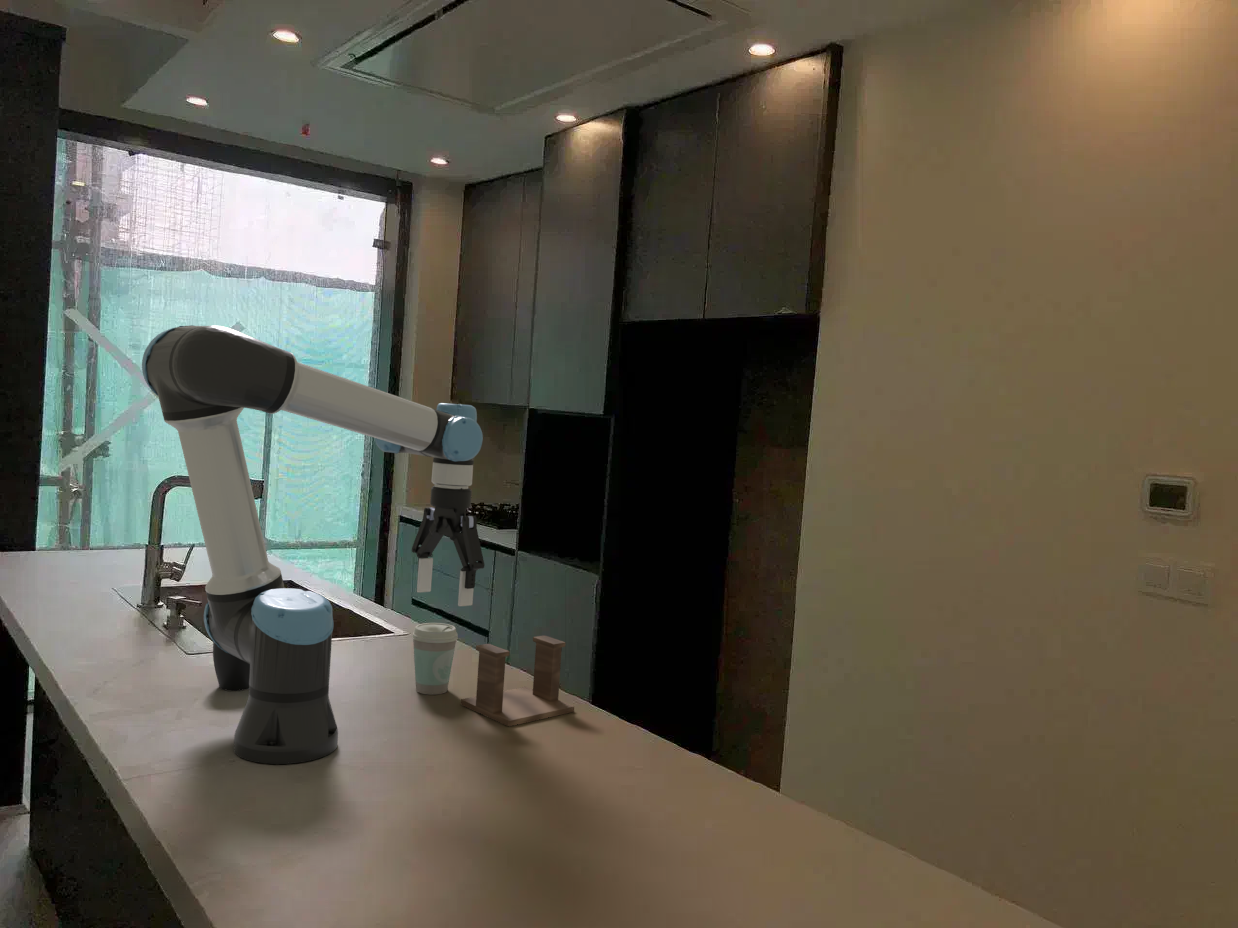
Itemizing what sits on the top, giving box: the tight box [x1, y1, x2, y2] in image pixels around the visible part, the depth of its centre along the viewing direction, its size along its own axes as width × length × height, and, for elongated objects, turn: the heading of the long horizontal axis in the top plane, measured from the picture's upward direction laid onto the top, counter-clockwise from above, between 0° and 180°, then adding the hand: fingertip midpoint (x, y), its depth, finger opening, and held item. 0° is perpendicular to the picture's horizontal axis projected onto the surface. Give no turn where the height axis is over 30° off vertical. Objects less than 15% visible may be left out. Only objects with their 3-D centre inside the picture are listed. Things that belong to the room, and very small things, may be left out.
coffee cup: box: [411, 622, 459, 696], centre depth 183 cm, size 9×8×12 cm
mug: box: [212, 640, 250, 692], centre depth 179 cm, size 8×12×10 cm
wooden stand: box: [460, 634, 575, 727], centre depth 176 cm, size 16×14×12 cm
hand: (443, 598), depth 184 cm, fingers open, 13 cm apart
